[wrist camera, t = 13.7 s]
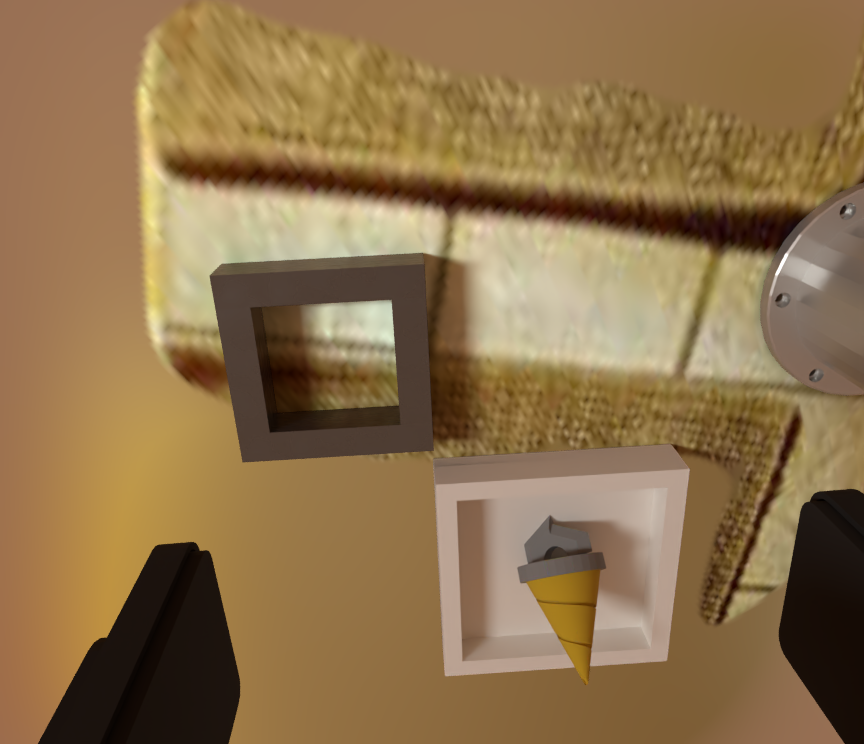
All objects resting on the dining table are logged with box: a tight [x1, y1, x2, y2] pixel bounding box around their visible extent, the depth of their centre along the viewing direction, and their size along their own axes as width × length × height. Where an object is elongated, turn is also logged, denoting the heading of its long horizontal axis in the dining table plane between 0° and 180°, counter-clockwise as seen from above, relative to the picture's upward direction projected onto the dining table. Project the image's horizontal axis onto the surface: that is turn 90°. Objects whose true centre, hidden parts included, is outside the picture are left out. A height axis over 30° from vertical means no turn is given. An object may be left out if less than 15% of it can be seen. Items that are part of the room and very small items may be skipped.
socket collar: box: [210, 253, 434, 462], centre depth 38 cm, size 11×11×2 cm
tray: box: [433, 444, 690, 676], centre depth 44 cm, size 15×15×3 cm
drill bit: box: [517, 515, 606, 685], centre depth 41 cm, size 5×5×10 cm
